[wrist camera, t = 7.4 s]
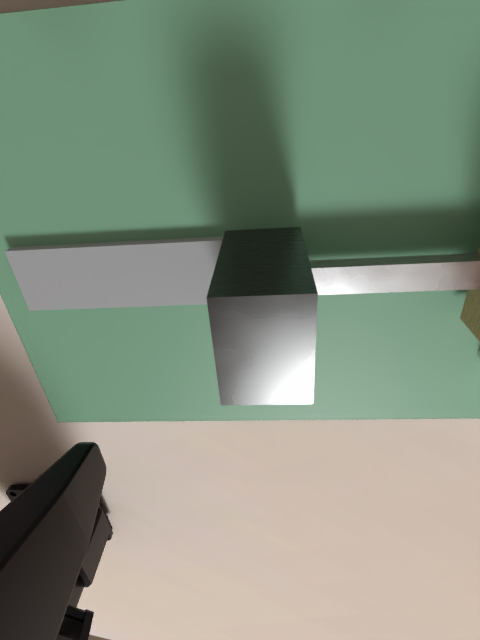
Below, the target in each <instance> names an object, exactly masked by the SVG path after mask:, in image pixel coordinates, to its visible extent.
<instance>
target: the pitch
mask: <svg viewBox="0 0 480 640" xmlns="http://www.w3.org/2000/svg"><path fill="white" fill-rule="evenodd" d="M286 227H301V230H302V234H303V238H304V242H305V246H306V250H307V253H308V257H309V260H330V259H352V258H375V257H397V256H419V255H442V254H464V253H478V249H479V246H480V0H123V1H113V2H104V3H95V4H85V5H76V6H67V7H58V8H48V9H39V10H30V11H20V12H11V13H2V14H0V295H1V297H2V299H3V301H4V304H5V306H6V308H7V310H8V312H9V315H10V317H11V319H12V321H13V324H14V326H15V328H16V330H17V332H18V335H19V337H20V339H21V341H22V344H23V346H24V348H25V350H26V352H27V355H28V357H29V359H30V361H31V363H32V366H33V368H34V370H35V372H36V375H37V377H38V379H39V381H40V383H41V386H42V388H43V390H44V392H45V394H46V397H47V399H48V401H49V403H50V406H51V408H52V410H53V412H54V414H55V417H56V419H57V421H58V422H131V421H241V420H351V419H461V418H480V359H479V358H478V356H477V353H478V350H479V349H480V342H479V340H478V339H477V338H476V337H475V336H474V334H473V333H472V332H471V331H470V330H469V329H468V327H467V326H466V325H465V324H464V323H463V322H462V320H461V319H460V316H461V313H462V309H463V305H464V301H465V298H466V294H467V290H443V291H416V292H389V293H362V294H335V295H318V301H317V327H316V352H315V377H314V403H313V404H295V405H221V403H220V396H219V388H218V381H217V373H216V366H215V358H214V351H213V343H212V336H211V328H210V321H209V313H208V306H207V298H206V297H207V294H208V290H209V287H210V283H211V280H212V276H213V272H214V269H215V265H216V262H217V258H218V255H219V251H220V247H221V244H222V240H223V237H224V233H225V231H229V230H248V229H267V228H286Z"/></svg>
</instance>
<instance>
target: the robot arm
mask: <svg viewBox="0 0 480 640" xmlns="http://www.w3.org/2000/svg"><path fill="white" fill-rule="evenodd" d="M105 476H106V465H105V462H104V459H103V457H102V454H101V452H100V449H99V447H98V445H97V444H96V443H94V442H81V443H78V444H76V445H74V446H73V447H72V448H71V449H70V450H69V451H68V452H66V453H65V454H64V455H63V456H62V457H61V458H60V459H59V460H57V461H56V462H55V463H54V464H53V465H52V466H51V467H50V468H48V469H47V470H46V471H45V472H44V473H43V474H42V475H41V476H39V477H38V478H37V479H36V480H35V481H34V482H33V483H32V484H30V485H11V486H10V487H9V488H8V490H7V492H6V494H7V495H8V497H9V499H10V500H11V502H10V503H9V504H8V505H7V506H6V507H4V508H3V509H2V510H1V511H0V640H88V637H89V632H90V628H91V623H92V619H93V614H94V612H92V611H89V610H87V609H86V610H85V611H84V610H81V609H78V608H76V607H77V604H78V602H79V599H80V596H81V593H82V591H83V588H84V587H89V586H90V585H91V584H92V582H93V579H94V576H95V573H96V570H97V567H98V565H99V562H100V559H101V556H102V553H103V550H104V547H105V545H106V542H107V540H110V539H111V537H112V535H113V532H112V529H111V527H110V525H109V523H108V520H107V518H106V516H105V513H104V511H103V509H102V507H101V504H100V502H99V501H100V497H101V493H102V489H103V485H104V481H105Z"/></svg>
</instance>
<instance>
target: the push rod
mask: <svg viewBox="0 0 480 640" xmlns="http://www.w3.org/2000/svg"><path fill="white" fill-rule="evenodd" d="M443 290H467V294H466V298H465V301H464V305H463V309H462V313H461V316H460V319H461V320H462V322H463V323H464V324H465V325H466V326H467V327H468V329H469V330H470V331H471V332H472V333H473V334H474V336H475V337H476V338H477V339H478V340H479V342H480V246H479V249H478V253H464V254H442V255H419V256H397V257H375V258H352V259H330V260H309V257H308V253H307V250H306V246H305V242H304V238H303V234H302V230H301V227H286V228H267V229H248V230H229V231H225V233H224V237H223V240H222V244H221V247H220V251H219V255H218V258H217V262H216V265H215V269H214V272H213V276H212V280H211V283H210V287H209V290H208V294H207V297H206V298H207V306H208V313H209V321H210V328H211V336H212V343H213V351H214V358H215V366H216V373H217V381H218V388H219V396H220V403H221V405H295V404H313V403H314V377H315V352H316V327H317V301H318V295H335V294H362V293H389V292H416V291H443Z"/></svg>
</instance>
